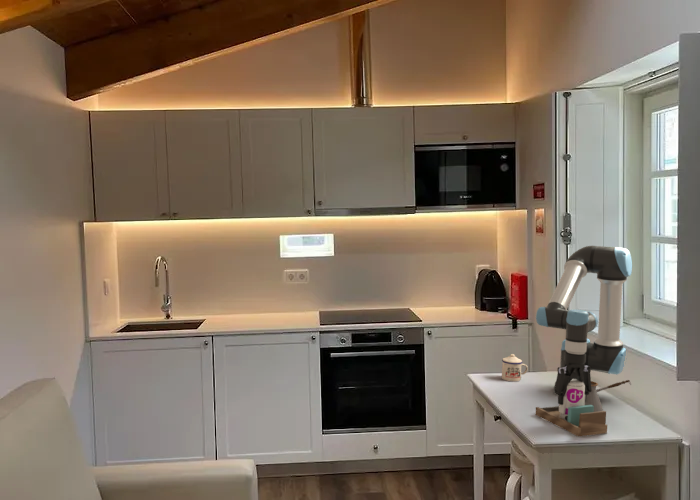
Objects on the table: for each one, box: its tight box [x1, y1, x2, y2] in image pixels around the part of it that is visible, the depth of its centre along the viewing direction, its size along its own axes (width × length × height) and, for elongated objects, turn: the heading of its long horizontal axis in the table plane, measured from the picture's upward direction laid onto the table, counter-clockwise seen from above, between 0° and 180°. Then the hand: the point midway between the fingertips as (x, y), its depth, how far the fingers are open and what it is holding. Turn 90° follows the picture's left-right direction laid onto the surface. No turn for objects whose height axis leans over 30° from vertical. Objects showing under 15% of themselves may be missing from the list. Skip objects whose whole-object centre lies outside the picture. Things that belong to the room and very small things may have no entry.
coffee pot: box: [585, 379, 632, 412], centre depth 252 cm, size 21×12×15 cm, turn 83°
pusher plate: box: [567, 405, 594, 426], centre depth 237 cm, size 2×10×7 cm, turn 111°
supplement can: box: [560, 379, 585, 421], centre depth 241 cm, size 8×8×15 cm
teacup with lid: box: [501, 353, 529, 382], centre depth 301 cm, size 12×9×12 cm
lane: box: [534, 405, 608, 437], centre depth 242 cm, size 24×13×8 cm, turn 21°
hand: (571, 411), depth 242 cm, fingers closed on supplement can, 8 cm apart
